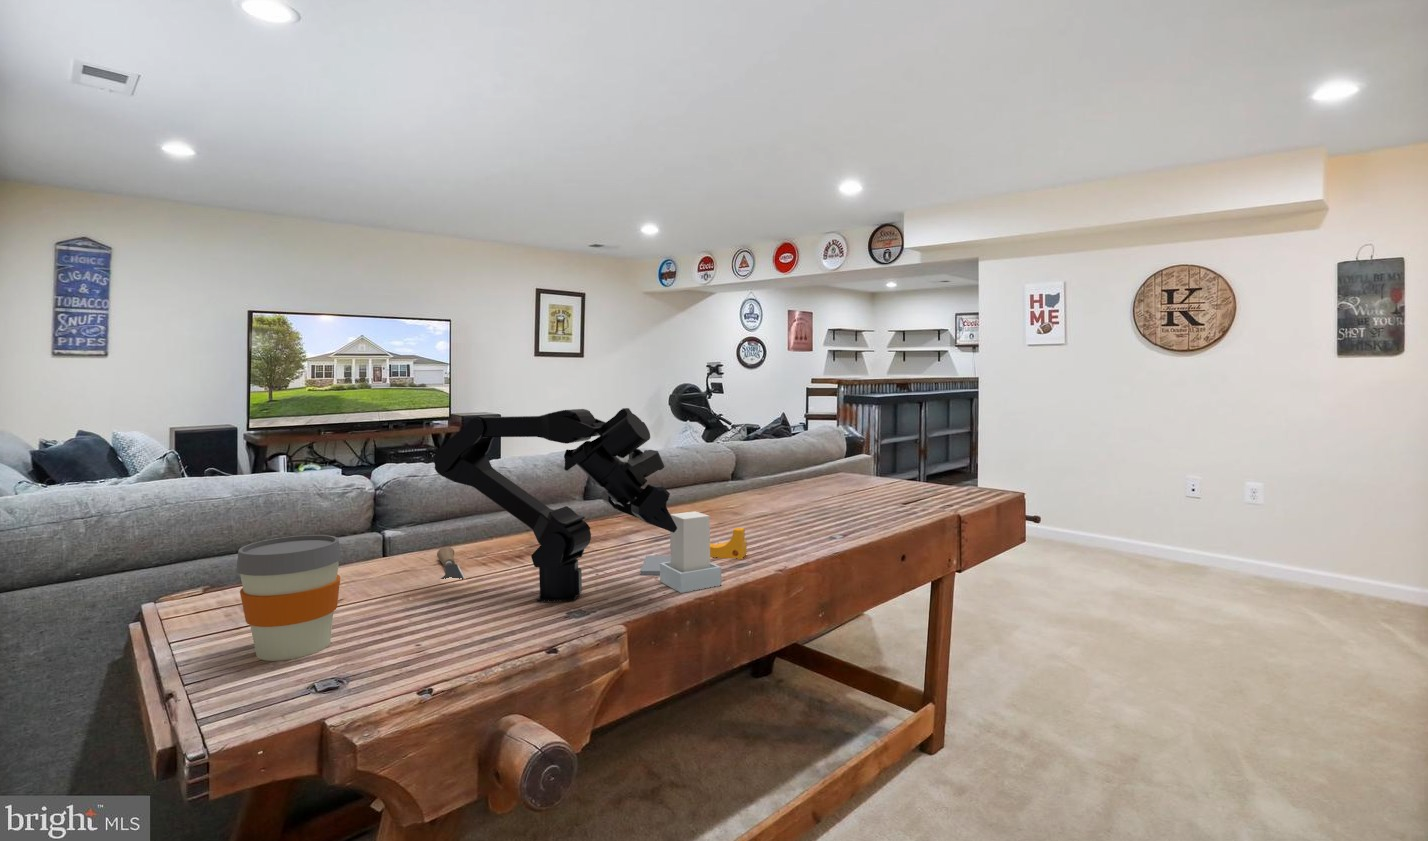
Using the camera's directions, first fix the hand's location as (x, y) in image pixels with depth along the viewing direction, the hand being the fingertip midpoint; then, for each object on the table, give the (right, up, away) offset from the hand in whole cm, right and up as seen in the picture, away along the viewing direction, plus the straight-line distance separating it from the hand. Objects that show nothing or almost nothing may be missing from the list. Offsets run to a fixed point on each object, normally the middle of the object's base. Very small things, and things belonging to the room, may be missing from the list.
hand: (664, 525), depth 120 cm
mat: (+1, -11, +15) cm, 19 cm away
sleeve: (+5, -11, +4) cm, 13 cm away
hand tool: (-44, -12, +12) cm, 48 cm away
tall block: (+5, -11, +4) cm, 13 cm away
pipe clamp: (+10, -11, +24) cm, 28 cm away
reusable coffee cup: (-51, -14, -26) cm, 59 cm away
